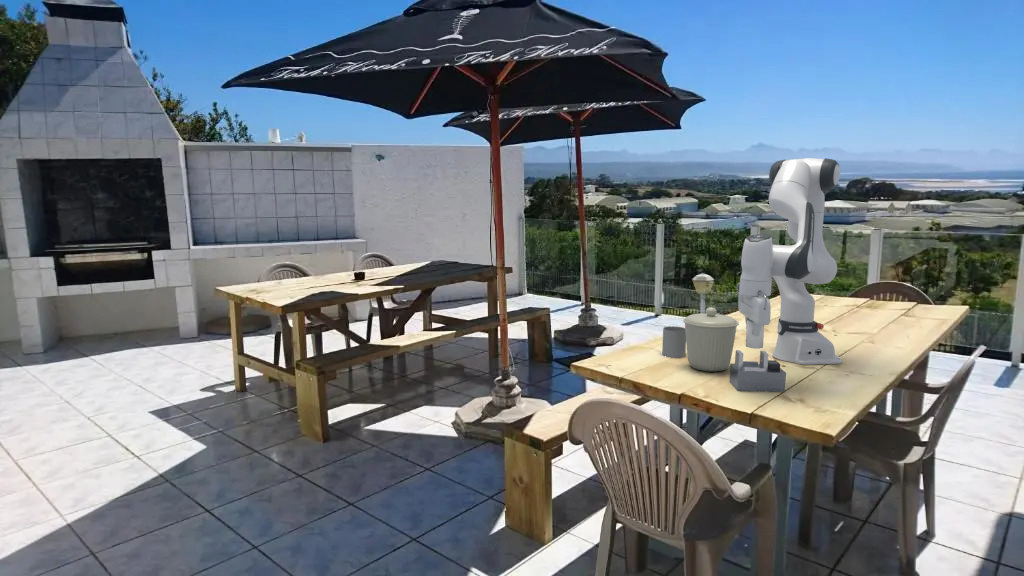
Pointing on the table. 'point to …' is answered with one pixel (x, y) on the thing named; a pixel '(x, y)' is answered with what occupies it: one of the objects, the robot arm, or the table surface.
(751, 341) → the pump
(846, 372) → the table surface
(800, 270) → the robot arm
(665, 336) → the cup
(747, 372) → the grey holder stand
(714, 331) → the canister
